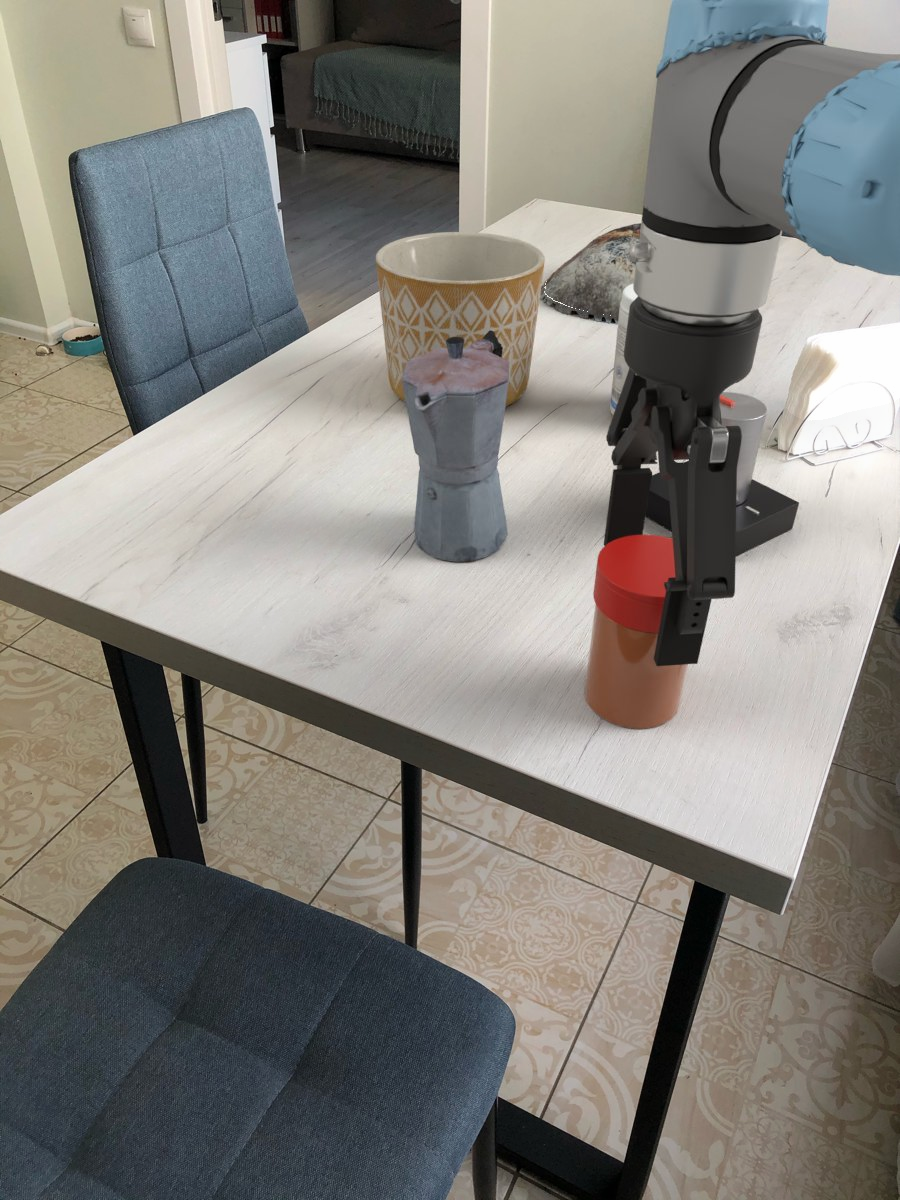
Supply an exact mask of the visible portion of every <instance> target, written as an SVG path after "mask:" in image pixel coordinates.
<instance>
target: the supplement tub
mask: <svg viewBox="0 0 900 1200" xmlns="http://www.w3.org/2000/svg"><path fill="white" fill-rule="evenodd" d="M633 284H634V283H633ZM633 284H631V285H629V286H627V287H626V288H624V290H623V293H622V300H621V302H620V309H619V319H618V324H617V328H616V329H617V330H616V341H615V349H614V351H615V352H614V359H613V360H614V362H613V372H612V383H611V394H610V402H609V403H610V405H609V409H610V413H611V415H612V416H613V415H614V412H615V409H616V406H617V403H618V400H619V397H620V394H621V391H622V388H623V385H624V383H625V380H626V377H627V374H628V371H629V367H628V365H627V364H626V362H625V359H624V347H625V339H626V332H627V324H628V316H629V308H630V305H631V303H632V302H633V301H634V300H635V299H636V298H637V297H638V296H637V294H636V293H635V291H634V290H633Z"/></svg>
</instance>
